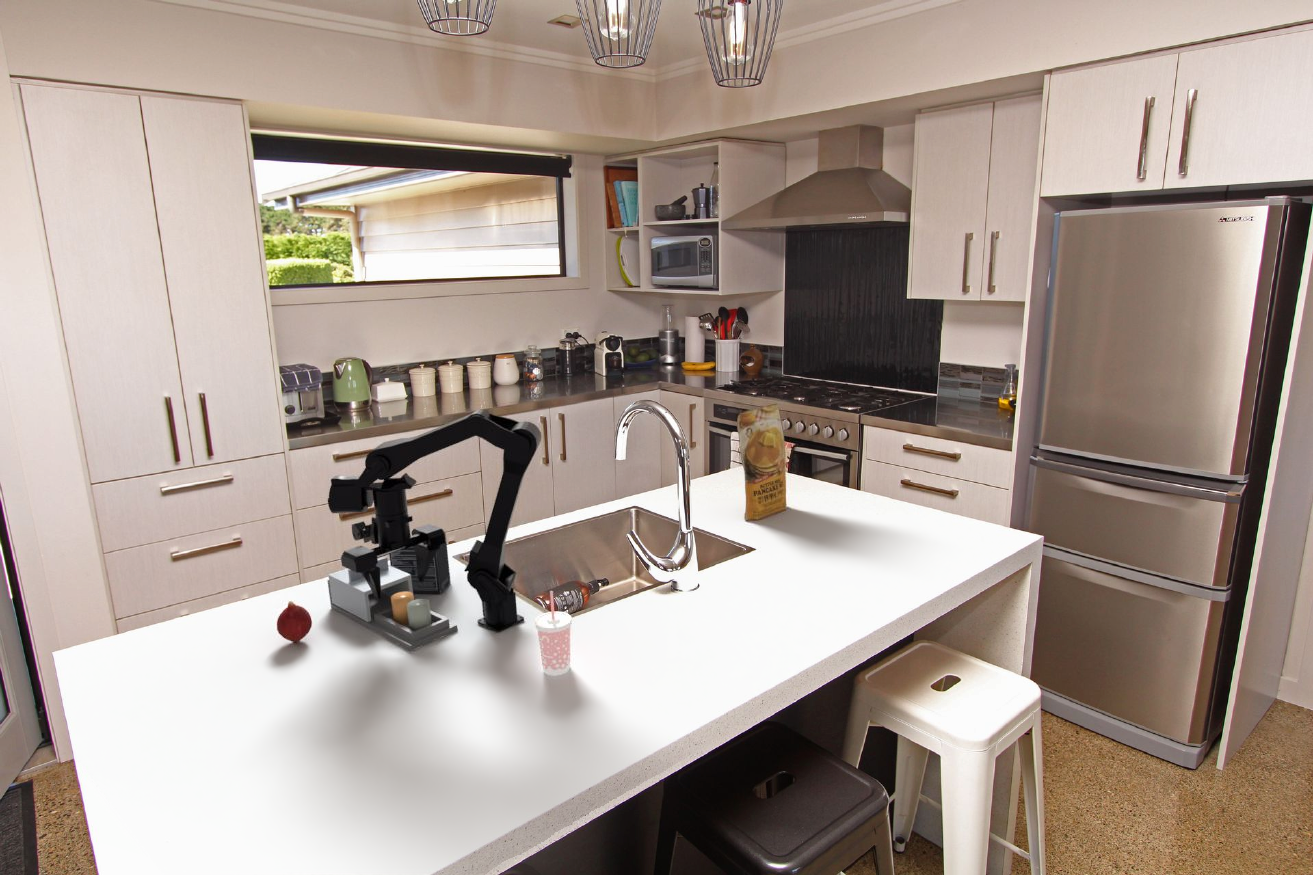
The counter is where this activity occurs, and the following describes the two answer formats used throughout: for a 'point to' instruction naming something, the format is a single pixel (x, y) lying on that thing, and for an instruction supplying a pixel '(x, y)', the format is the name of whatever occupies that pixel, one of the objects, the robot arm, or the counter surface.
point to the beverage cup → (554, 640)
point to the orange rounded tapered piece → (401, 606)
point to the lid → (365, 587)
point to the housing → (410, 636)
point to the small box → (435, 576)
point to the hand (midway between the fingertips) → (400, 589)
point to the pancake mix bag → (763, 461)
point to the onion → (294, 622)
